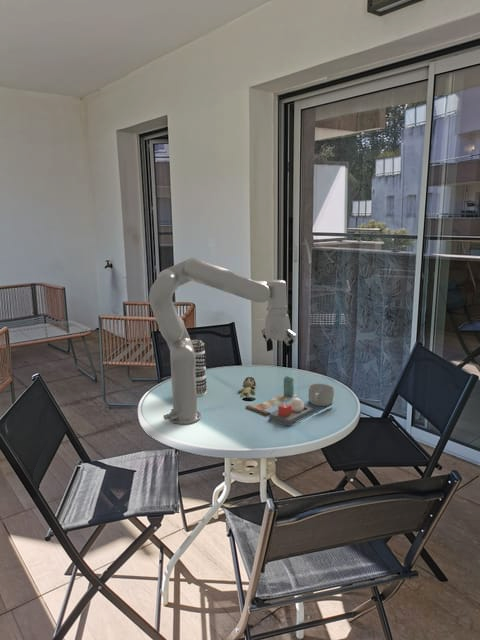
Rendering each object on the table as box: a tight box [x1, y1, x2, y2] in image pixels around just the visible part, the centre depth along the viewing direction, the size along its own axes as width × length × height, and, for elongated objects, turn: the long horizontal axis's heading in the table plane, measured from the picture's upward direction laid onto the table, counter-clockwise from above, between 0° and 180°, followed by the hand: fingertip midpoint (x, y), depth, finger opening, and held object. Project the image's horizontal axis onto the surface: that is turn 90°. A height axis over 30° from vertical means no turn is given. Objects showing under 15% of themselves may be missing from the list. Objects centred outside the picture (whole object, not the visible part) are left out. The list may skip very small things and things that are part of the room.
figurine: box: [237, 376, 257, 399], centre depth 219 cm, size 8×6×15 cm
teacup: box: [308, 383, 335, 407], centre depth 203 cm, size 14×11×8 cm
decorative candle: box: [191, 339, 208, 397], centre depth 219 cm, size 9×9×25 cm
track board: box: [245, 393, 298, 416], centre depth 207 cm, size 25×12×1 cm, turn 136°
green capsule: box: [283, 375, 295, 398], centre depth 213 cm, size 4×4×9 cm
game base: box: [268, 403, 315, 427], centre depth 193 cm, size 16×10×6 cm, turn 136°
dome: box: [288, 397, 305, 413], centre depth 195 cm, size 6×6×5 cm
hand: (279, 352), depth 194 cm, fingers open, 9 cm apart
